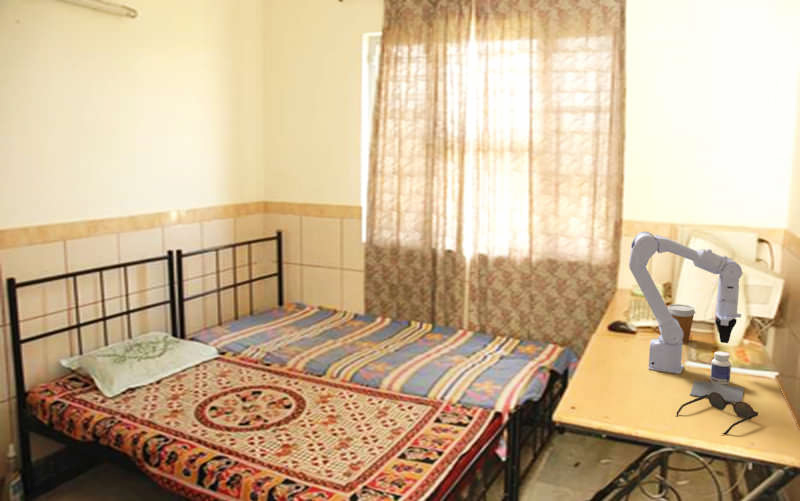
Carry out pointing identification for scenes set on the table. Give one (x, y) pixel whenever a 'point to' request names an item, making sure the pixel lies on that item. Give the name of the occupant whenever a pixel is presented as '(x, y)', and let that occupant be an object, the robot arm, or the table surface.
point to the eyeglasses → (718, 402)
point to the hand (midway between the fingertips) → (724, 342)
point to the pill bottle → (720, 368)
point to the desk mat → (725, 391)
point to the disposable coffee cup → (683, 318)
